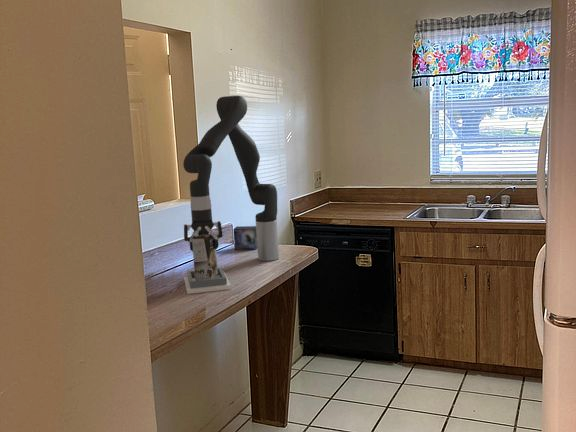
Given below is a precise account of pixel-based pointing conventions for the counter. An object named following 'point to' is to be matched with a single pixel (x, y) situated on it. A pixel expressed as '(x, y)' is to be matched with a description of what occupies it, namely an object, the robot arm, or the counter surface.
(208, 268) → the coffee box
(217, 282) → the socket stand
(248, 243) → the small box
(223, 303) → the counter surface
